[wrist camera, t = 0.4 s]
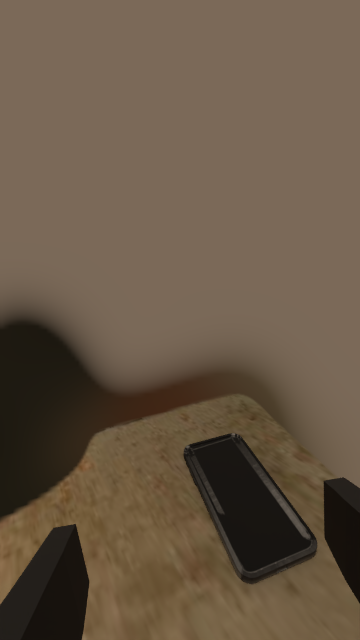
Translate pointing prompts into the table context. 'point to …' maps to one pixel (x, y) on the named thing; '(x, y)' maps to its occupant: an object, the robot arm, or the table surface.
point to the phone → (248, 509)
